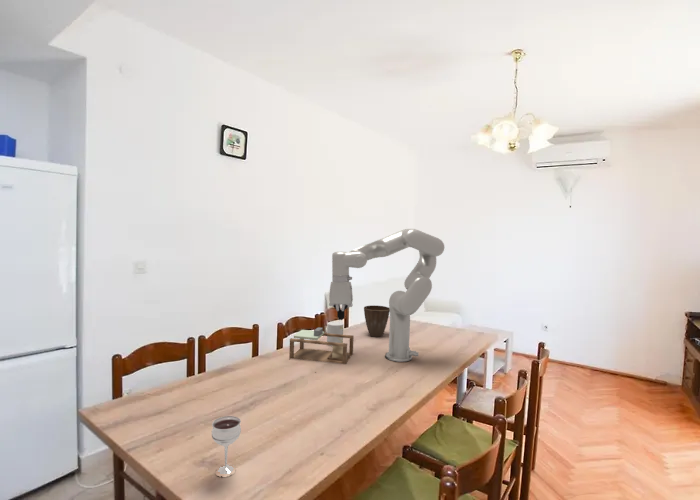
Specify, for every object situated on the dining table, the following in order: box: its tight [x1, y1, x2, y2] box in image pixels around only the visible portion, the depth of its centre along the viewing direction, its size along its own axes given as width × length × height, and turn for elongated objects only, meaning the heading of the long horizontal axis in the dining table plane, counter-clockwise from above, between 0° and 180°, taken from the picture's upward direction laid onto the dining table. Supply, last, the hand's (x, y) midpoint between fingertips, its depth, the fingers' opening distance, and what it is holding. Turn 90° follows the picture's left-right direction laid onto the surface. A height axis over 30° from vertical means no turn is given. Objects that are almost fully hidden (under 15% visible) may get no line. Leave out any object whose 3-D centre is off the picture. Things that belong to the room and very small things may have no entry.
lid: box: [293, 327, 325, 341], centre depth 175 cm, size 11×11×4 cm
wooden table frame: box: [288, 332, 355, 365], centre depth 174 cm, size 26×15×10 cm, turn 78°
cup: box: [326, 321, 344, 347], centre depth 193 cm, size 8×8×12 cm
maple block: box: [331, 342, 343, 359], centre depth 172 cm, size 5×5×6 cm
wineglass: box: [211, 415, 242, 474], centre depth 91 cm, size 7×7×12 cm
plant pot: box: [363, 305, 390, 338], centre depth 216 cm, size 15×15×16 cm
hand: (340, 319), depth 172 cm, fingers closed
